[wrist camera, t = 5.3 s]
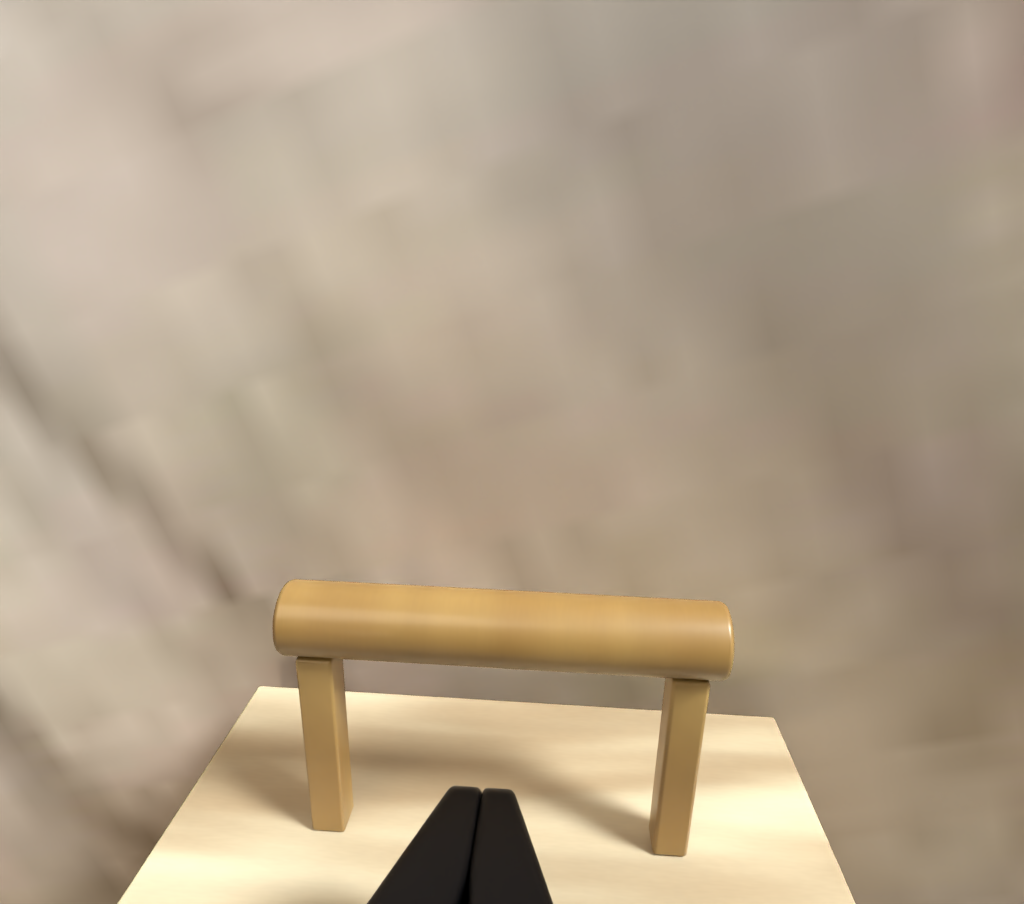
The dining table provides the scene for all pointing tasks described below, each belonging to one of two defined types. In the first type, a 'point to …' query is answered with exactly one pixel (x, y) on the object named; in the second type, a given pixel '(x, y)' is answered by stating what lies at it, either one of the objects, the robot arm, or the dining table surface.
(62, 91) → the dining table surface
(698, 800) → the drawer
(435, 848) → the robot arm
